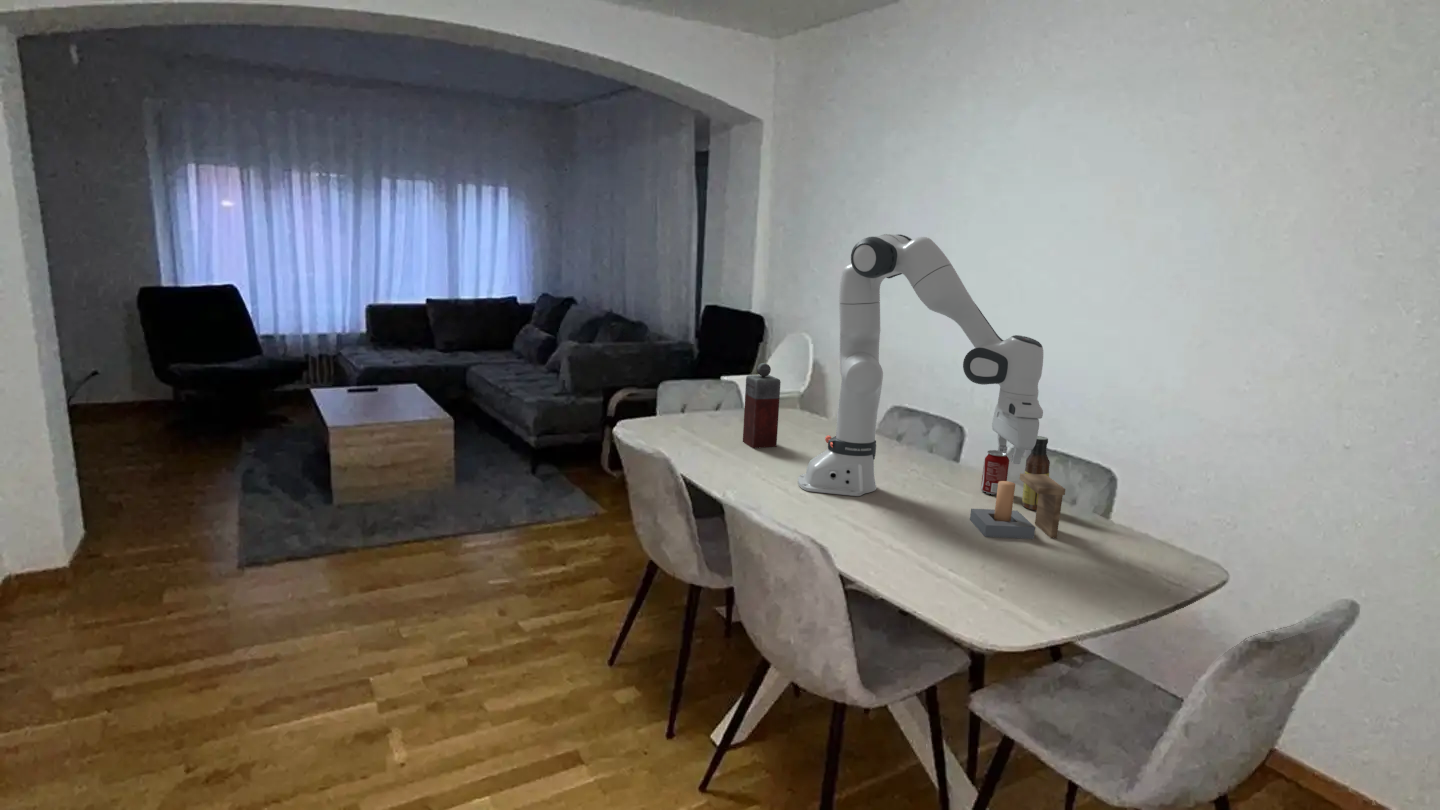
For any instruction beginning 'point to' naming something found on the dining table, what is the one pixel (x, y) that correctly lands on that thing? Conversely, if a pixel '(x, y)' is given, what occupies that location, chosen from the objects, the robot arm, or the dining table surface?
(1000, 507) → the peg
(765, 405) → the red grey knobbed box
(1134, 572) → the dining table surface
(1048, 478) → the wooden l-shaped bracket
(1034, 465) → the sauce bottle
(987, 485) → the soda can
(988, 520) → the socket
